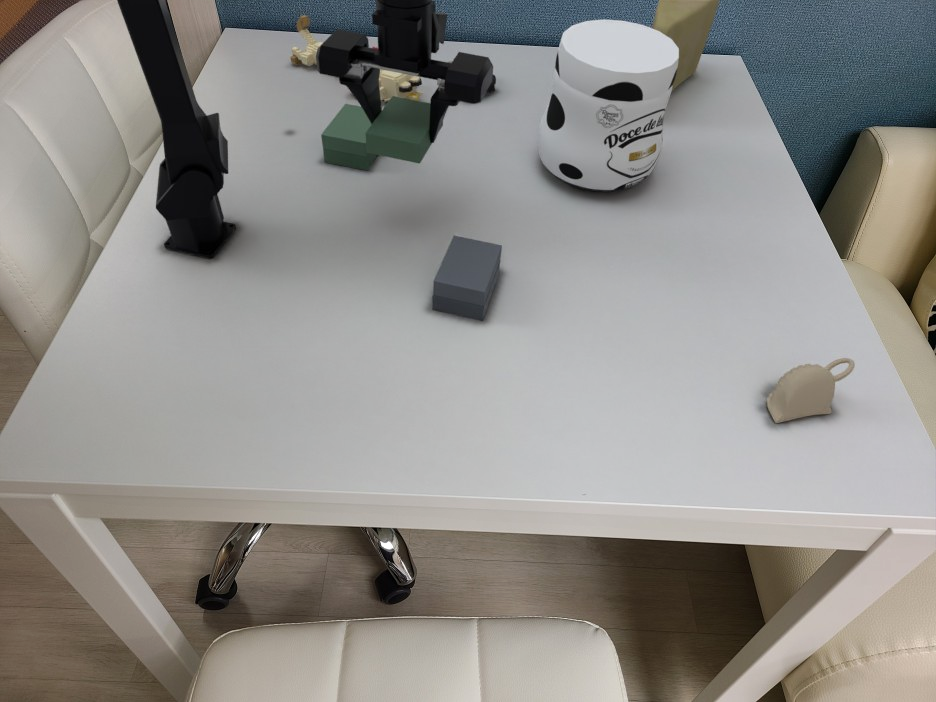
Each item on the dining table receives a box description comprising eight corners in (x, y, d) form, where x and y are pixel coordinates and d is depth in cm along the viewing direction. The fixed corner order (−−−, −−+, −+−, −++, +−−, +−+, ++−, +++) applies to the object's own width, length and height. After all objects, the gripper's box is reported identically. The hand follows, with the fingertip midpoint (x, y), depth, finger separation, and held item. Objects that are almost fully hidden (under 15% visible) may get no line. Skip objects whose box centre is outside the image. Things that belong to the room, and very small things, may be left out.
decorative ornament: (754, 393, 72) (774, 360, 68) (824, 383, 73) (847, 350, 69) (773, 423, 69) (794, 391, 65) (845, 412, 70) (870, 380, 66)
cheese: (665, 130, 106) (693, 34, 95) (606, 114, 109) (628, 18, 98) (697, 73, 120) (725, -17, 109) (644, 60, 122) (666, -29, 111)
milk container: (642, 215, 91) (680, 89, 78) (520, 186, 94) (536, 60, 81) (660, 150, 102) (696, 30, 89) (550, 126, 106) (569, 6, 92)
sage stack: (367, 170, 95) (365, 143, 92) (324, 162, 96) (320, 134, 93) (388, 138, 101) (387, 111, 98) (347, 130, 102) (345, 103, 98)
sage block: (419, 164, 77) (419, 143, 75) (366, 152, 78) (365, 132, 76) (443, 125, 83) (443, 105, 81) (393, 115, 84) (392, 95, 82)
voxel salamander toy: (284, 77, 114) (400, 114, 104) (273, 23, 108) (394, 57, 98) (324, 57, 120) (437, 90, 109) (315, 4, 113) (435, 34, 103)
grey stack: (482, 321, 77) (485, 293, 73) (432, 309, 77) (432, 281, 74) (499, 273, 82) (502, 245, 79) (452, 263, 83) (453, 234, 80)
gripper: (511, -16, 72) (498, 117, 84) (348, -44, 75) (358, 90, 86) (484, 25, 65) (474, 165, 77) (305, -7, 67) (322, 133, 79)
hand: (406, 135), depth 80 cm, fingers closed on sage block, 6 cm apart
